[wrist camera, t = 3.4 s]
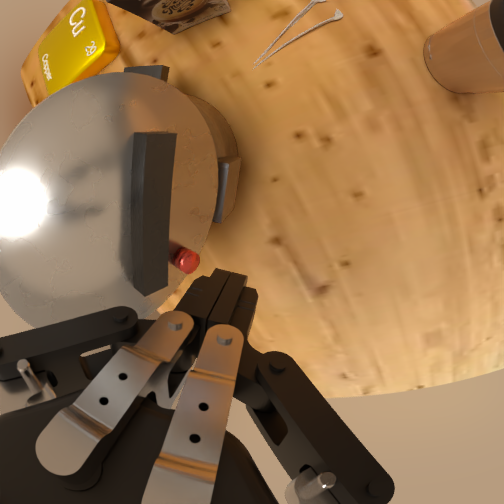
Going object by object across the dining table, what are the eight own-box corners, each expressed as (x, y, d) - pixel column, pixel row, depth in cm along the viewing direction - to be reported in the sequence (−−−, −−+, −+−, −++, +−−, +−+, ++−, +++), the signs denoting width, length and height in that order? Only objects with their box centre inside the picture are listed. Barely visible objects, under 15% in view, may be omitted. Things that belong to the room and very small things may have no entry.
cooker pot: (265, 83, 31) (244, 64, 20) (235, 256, 42) (211, 301, 32) (123, 78, 33) (68, 73, 22) (115, 226, 44) (70, 256, 34)
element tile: (51, 48, 31) (34, 47, 27) (104, -2, 27) (87, -8, 22) (66, 103, 36) (48, 105, 32) (124, 52, 32) (106, 48, 27)
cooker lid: (223, 88, 21) (248, 89, 20) (199, 281, 31) (218, 293, 29) (-25, 84, 6) (-27, 77, 5) (31, 366, 15) (43, 390, 14)
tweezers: (319, -4, 24) (318, -9, 22) (344, 17, 25) (346, 13, 23) (229, 72, 33) (224, 70, 31) (253, 93, 33) (249, 93, 32)
